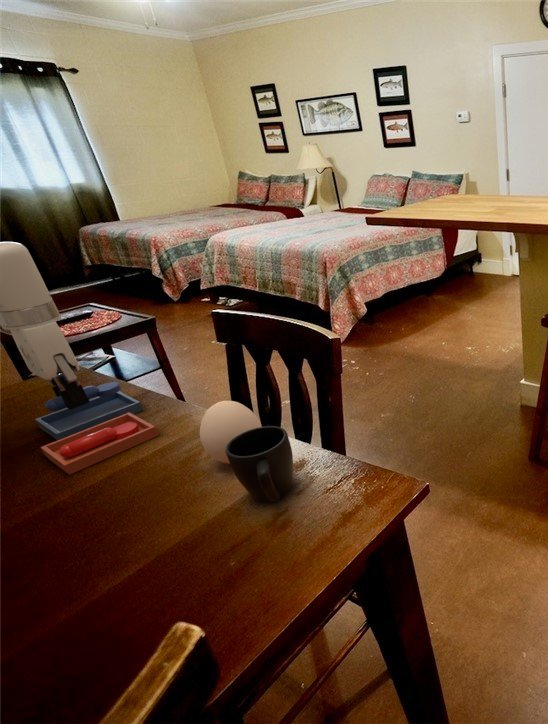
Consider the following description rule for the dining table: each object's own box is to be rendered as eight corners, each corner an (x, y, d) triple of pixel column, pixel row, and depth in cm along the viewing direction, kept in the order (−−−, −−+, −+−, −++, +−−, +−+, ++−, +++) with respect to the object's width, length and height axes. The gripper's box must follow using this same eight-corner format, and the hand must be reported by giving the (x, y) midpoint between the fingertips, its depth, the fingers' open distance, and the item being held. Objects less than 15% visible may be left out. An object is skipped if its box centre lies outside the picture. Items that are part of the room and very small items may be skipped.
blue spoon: (53, 416, 87) (47, 405, 86) (45, 410, 89) (38, 399, 88) (124, 389, 96) (120, 379, 95) (115, 385, 98) (111, 375, 97)
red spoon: (68, 463, 81) (62, 452, 80) (58, 456, 82) (52, 445, 81) (143, 431, 89) (139, 420, 88) (133, 425, 91) (128, 414, 90)
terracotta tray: (69, 474, 79) (64, 465, 78) (45, 456, 83) (40, 447, 82) (158, 435, 89) (155, 426, 88) (133, 420, 94) (129, 412, 93)
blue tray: (60, 443, 87) (56, 434, 86) (39, 427, 91) (34, 419, 91) (143, 410, 97) (140, 401, 96) (120, 397, 102) (117, 389, 101)
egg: (279, 447, 85) (263, 392, 80) (243, 478, 78) (223, 419, 73) (238, 442, 87) (219, 387, 82) (199, 472, 79) (175, 414, 74)
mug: (244, 532, 67) (224, 479, 63) (242, 484, 76) (225, 435, 72) (307, 511, 71) (292, 459, 67) (298, 467, 80) (284, 420, 76)
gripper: (-17, 313, 84) (34, 402, 92) (16, 329, 77) (68, 424, 85) (39, 301, 90) (82, 385, 98) (74, 315, 83) (118, 405, 91)
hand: (75, 403), depth 91 cm, fingers closed on blue spoon, 2 cm apart
